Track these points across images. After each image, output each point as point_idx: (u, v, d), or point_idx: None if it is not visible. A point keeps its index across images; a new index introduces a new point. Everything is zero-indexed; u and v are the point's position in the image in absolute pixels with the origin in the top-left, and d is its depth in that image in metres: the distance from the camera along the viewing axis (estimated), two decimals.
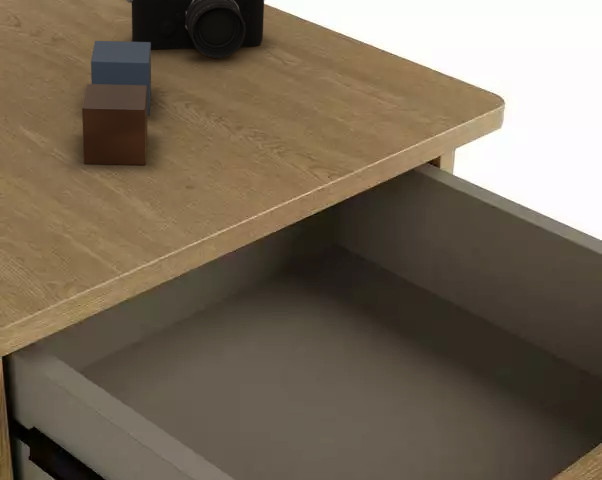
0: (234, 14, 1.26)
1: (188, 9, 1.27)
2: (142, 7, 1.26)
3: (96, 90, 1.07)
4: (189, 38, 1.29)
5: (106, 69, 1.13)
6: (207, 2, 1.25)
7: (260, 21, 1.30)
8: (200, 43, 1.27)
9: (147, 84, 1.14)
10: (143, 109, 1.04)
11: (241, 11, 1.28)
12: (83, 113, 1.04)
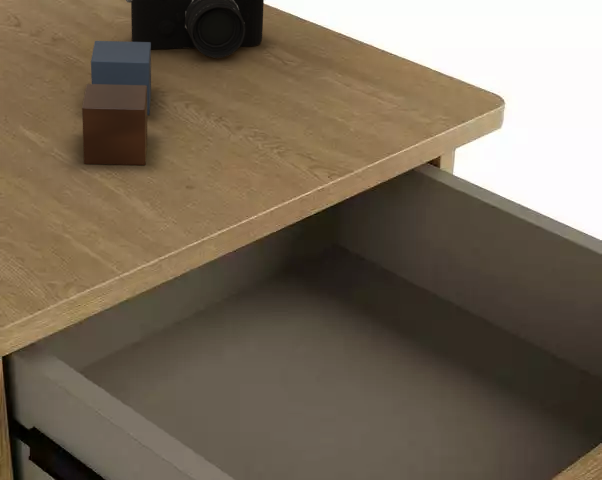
0: (234, 14, 1.26)
1: (188, 9, 1.27)
2: (142, 7, 1.26)
3: (96, 90, 1.07)
4: (189, 38, 1.29)
5: (106, 69, 1.13)
6: (207, 2, 1.25)
7: (260, 21, 1.30)
8: (200, 43, 1.27)
9: (147, 84, 1.14)
10: (143, 109, 1.04)
11: (241, 11, 1.28)
12: (83, 113, 1.04)
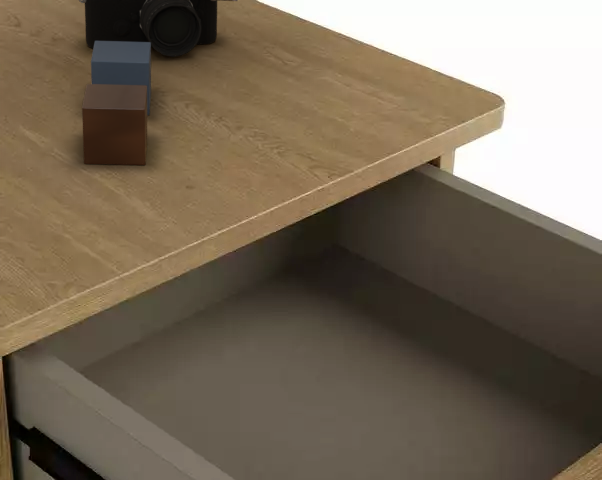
0: (189, 12, 1.25)
1: (142, 8, 1.26)
2: (96, 7, 1.26)
3: (96, 90, 1.07)
4: (144, 37, 1.28)
5: (106, 69, 1.13)
6: (162, 1, 1.24)
7: (214, 18, 1.30)
8: (156, 42, 1.26)
9: (147, 84, 1.14)
10: (143, 109, 1.04)
11: (195, 9, 1.28)
12: (83, 113, 1.04)
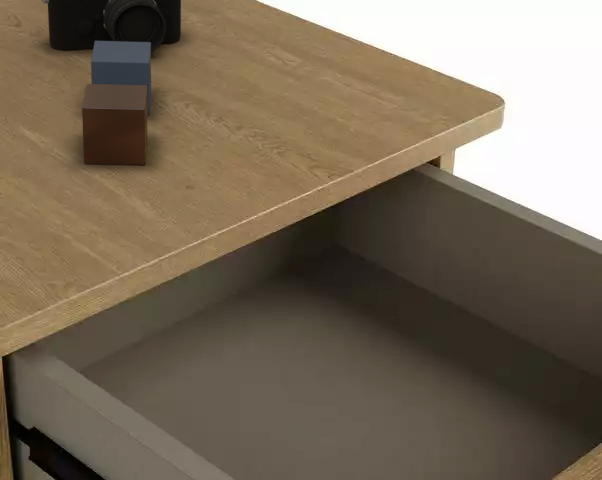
0: (153, 11, 1.25)
1: (106, 8, 1.26)
2: (60, 8, 1.25)
3: (96, 90, 1.07)
4: (108, 37, 1.28)
5: (106, 69, 1.13)
6: (126, 0, 1.24)
7: (178, 17, 1.30)
8: None
9: (147, 84, 1.14)
10: (143, 109, 1.04)
11: (159, 8, 1.28)
12: (83, 113, 1.04)
